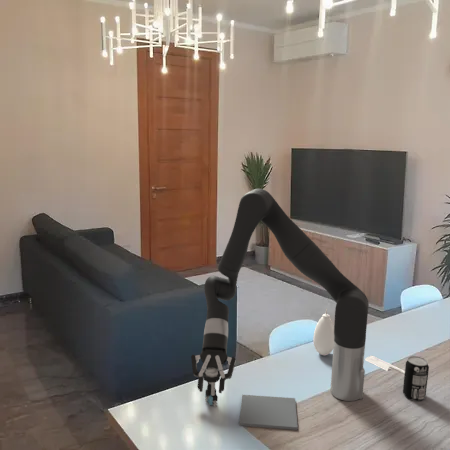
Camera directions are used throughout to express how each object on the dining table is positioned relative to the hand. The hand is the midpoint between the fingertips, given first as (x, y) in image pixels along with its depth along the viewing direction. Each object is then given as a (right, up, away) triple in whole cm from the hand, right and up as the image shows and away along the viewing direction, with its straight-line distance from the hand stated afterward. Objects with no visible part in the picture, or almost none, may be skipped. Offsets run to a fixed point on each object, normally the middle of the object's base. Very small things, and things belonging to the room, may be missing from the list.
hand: (210, 391), depth 136 cm
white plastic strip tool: (+60, -1, +25) cm, 65 cm away
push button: (0, -4, +3) cm, 5 cm away
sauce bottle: (+40, +1, +34) cm, 52 cm away
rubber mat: (+17, -5, -2) cm, 18 cm away
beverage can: (+63, -4, +8) cm, 64 cm away
